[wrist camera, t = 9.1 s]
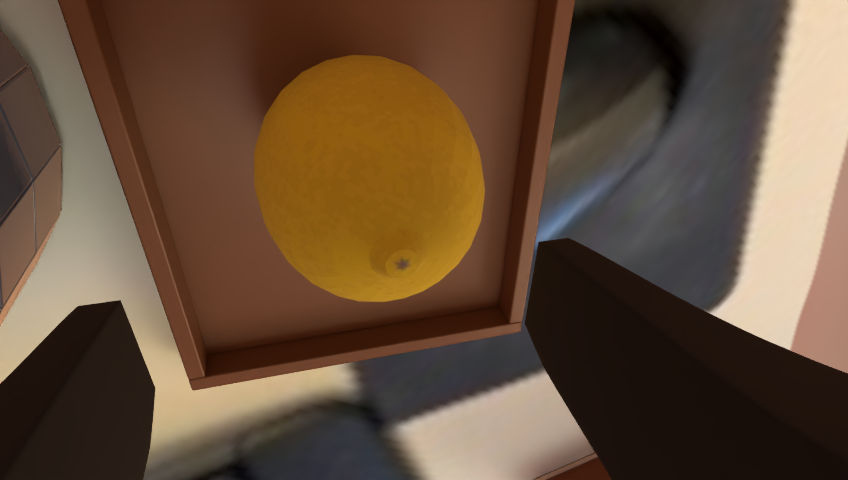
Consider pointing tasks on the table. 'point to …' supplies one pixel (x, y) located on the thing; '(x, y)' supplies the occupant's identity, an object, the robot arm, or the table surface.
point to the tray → (234, 163)
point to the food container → (580, 470)
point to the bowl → (24, 174)
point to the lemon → (368, 178)
